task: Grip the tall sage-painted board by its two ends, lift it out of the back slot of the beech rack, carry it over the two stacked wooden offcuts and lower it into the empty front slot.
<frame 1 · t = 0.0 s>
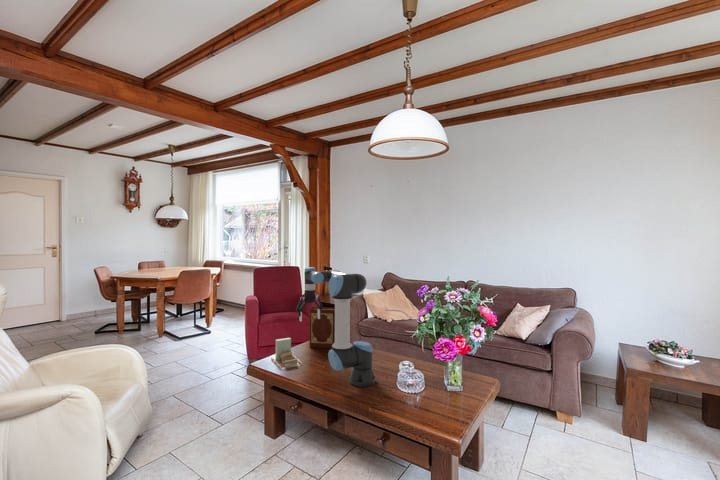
hand: (309, 319, 236), 28 cm above the table, fingers open, 13 cm apart
offcut oak: (286, 357, 229), point 4 cm above the table, touching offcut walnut
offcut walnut: (286, 362, 229), point 1 cm above the table, touching offcut oak, rack
decorative book: (324, 346, 266), on the table
sage board: (283, 359, 234), point 1 cm above the table, touching rack
rack: (286, 363, 229), on the table
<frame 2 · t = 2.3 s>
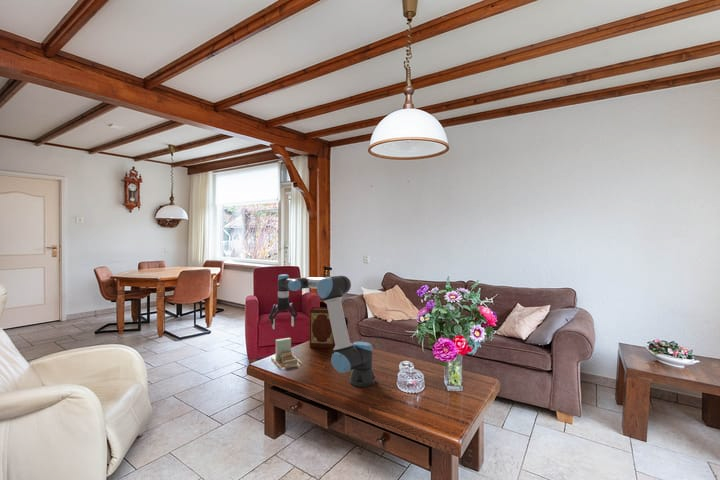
hand: (283, 327, 234), 23 cm above the table, fingers open, 13 cm apart
nothing on the table moved.
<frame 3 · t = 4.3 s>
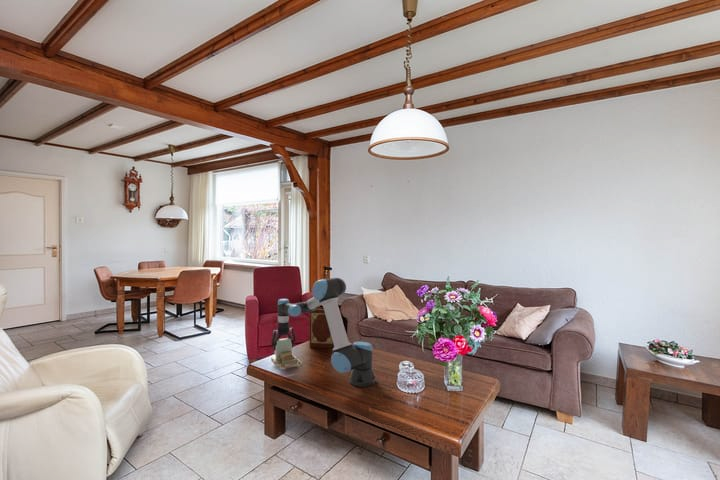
hand: (283, 353, 234), 5 cm above the table, fingers closed on sage board, 10 cm apart
sage board: (283, 359, 234), point 1 cm above the table, touching gripper, rack
everything else where it was.
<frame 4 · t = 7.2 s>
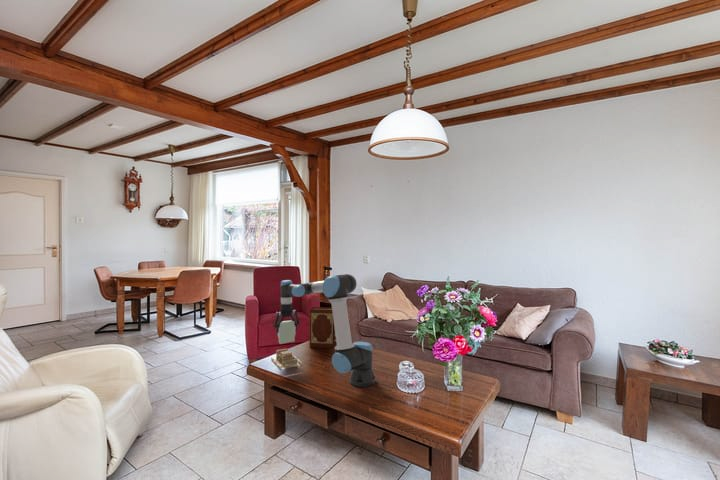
hand: (286, 336, 229), 19 cm above the table, fingers closed on sage board, 10 cm apart
sage board: (286, 342, 229), point 15 cm above the table, touching gripper
everything else where it was.
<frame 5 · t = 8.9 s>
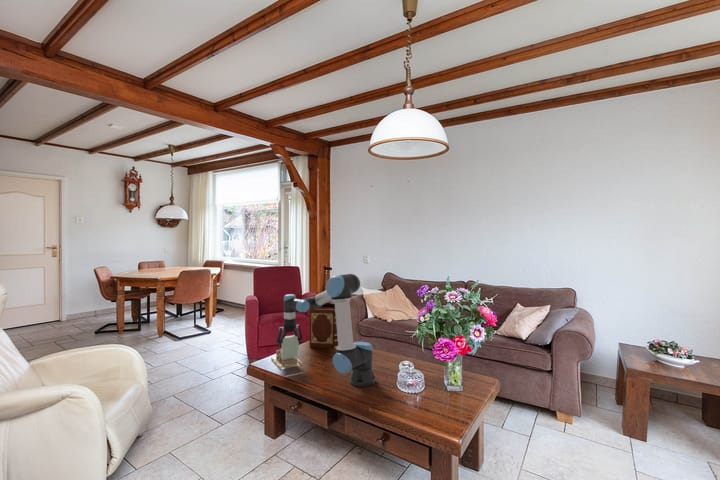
hand: (289, 351, 223), 10 cm above the table, fingers closed on sage board, 10 cm apart
sage board: (289, 357, 223), point 6 cm above the table, touching gripper
everything else where it was.
when the fingers open (7 cm above the table, at t = 10.2 s): sage board drops 2 cm, resting on rack.
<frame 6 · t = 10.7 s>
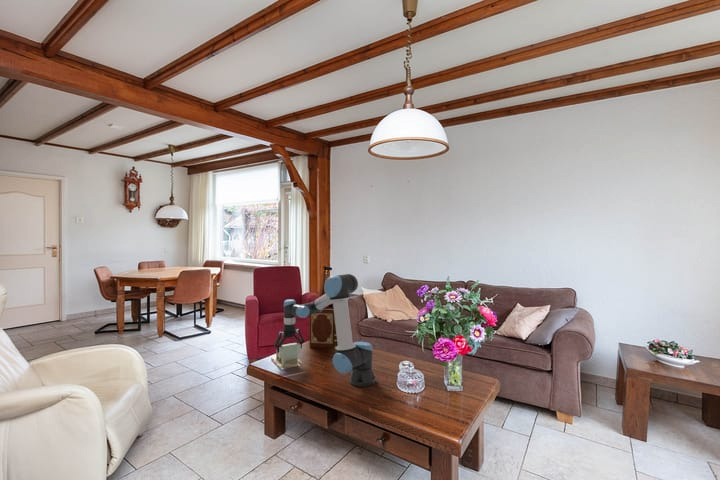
hand: (289, 355, 223), 8 cm above the table, fingers open, 13 cm apart
sage board: (289, 365, 223), point 1 cm above the table, touching rack
everything else where it was.
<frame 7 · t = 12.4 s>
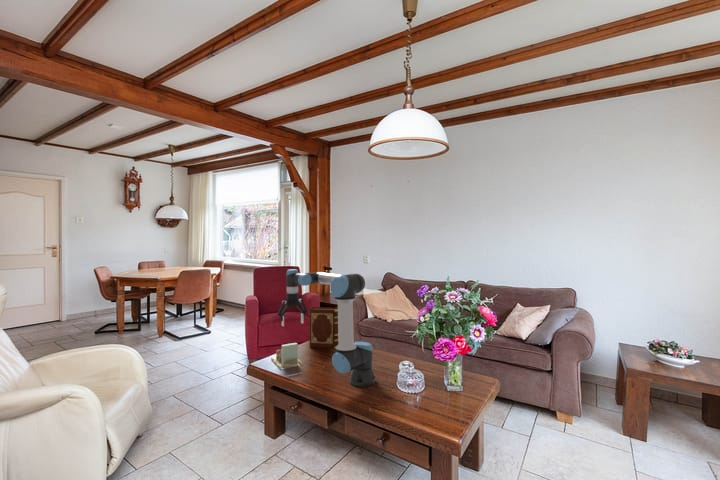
hand: (292, 324, 225), 28 cm above the table, fingers open, 13 cm apart
nothing on the table moved.
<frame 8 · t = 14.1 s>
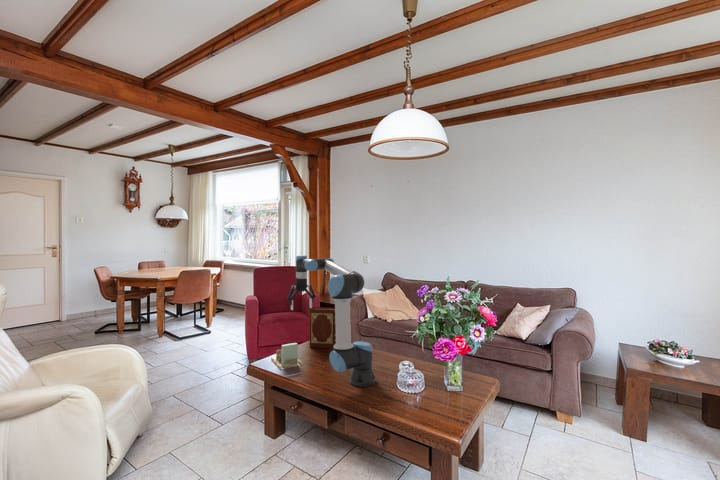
hand: (301, 308, 232), 37 cm above the table, fingers open, 13 cm apart
nothing on the table moved.
at the end: sage board 0.0 cm from the target spot on the rack, point 1.0 cm above the rack's base; sage board tilted 0°; the gripper is holding nothing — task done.
